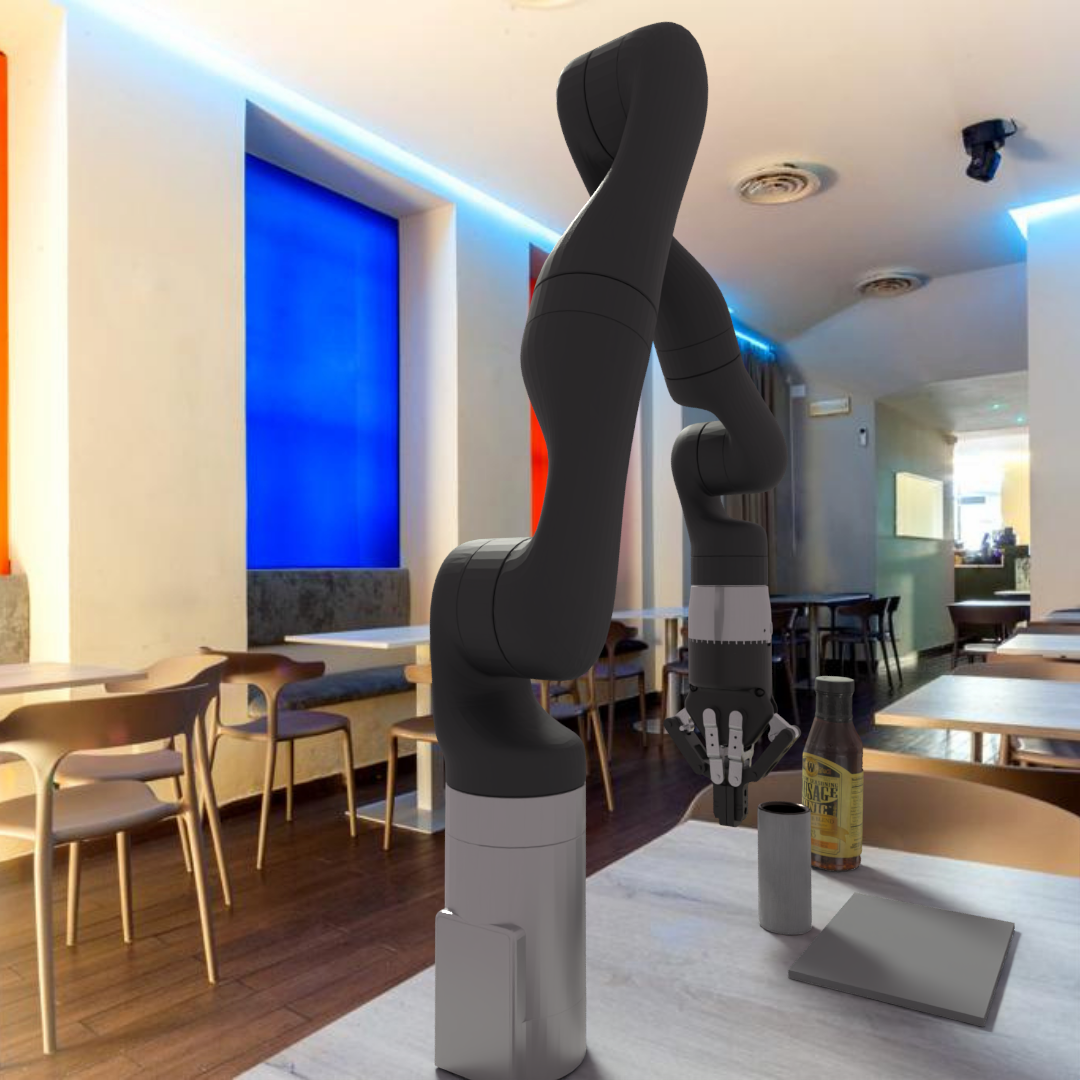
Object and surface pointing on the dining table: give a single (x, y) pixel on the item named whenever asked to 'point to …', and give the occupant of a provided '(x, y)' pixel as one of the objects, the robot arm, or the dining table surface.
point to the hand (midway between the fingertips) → (731, 824)
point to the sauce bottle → (834, 778)
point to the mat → (910, 957)
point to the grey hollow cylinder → (784, 867)
